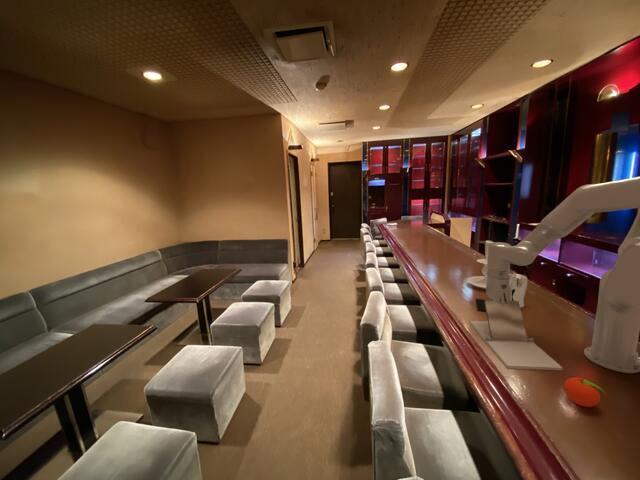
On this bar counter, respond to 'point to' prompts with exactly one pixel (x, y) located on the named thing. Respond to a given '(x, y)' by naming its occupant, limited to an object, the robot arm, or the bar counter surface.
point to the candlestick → (482, 280)
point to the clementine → (582, 391)
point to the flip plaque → (505, 320)
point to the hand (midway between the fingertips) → (495, 315)
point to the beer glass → (518, 288)
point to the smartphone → (481, 305)
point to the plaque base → (516, 350)
